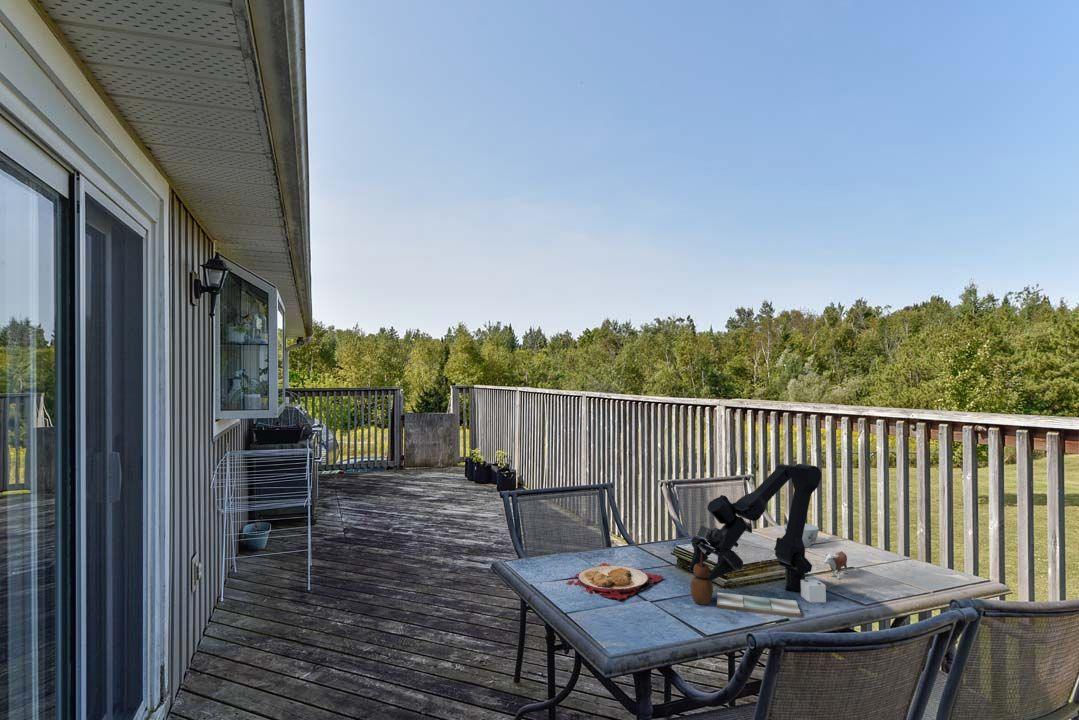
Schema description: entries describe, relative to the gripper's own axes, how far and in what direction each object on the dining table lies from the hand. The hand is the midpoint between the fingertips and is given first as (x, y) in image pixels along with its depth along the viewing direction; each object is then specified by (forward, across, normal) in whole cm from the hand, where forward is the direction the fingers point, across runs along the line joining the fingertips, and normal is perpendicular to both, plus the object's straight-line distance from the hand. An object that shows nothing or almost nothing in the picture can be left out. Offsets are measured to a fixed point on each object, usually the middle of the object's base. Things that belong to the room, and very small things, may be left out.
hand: (699, 574), depth 169 cm
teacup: (-47, -38, +58) cm, 84 cm away
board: (-4, +8, +16) cm, 18 cm away
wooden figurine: (+5, 0, +6) cm, 8 cm away
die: (-18, +9, +30) cm, 36 cm away
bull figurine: (-35, -4, +47) cm, 59 cm away
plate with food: (+18, -26, -5) cm, 32 cm away
